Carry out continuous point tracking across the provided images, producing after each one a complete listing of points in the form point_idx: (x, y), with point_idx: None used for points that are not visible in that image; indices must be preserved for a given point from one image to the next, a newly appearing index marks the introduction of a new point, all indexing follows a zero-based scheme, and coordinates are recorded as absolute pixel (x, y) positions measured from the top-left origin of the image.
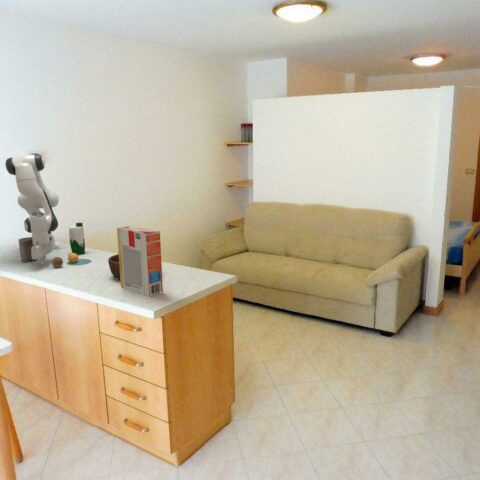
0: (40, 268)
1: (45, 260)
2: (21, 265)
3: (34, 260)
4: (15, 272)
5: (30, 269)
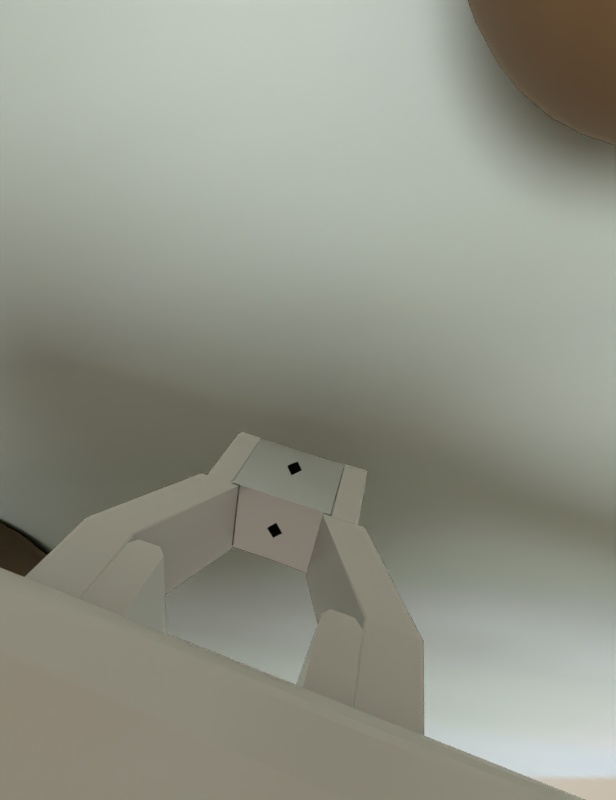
0: (531, 479)
1: (223, 461)
2: (227, 657)
3: (30, 553)
4: (613, 759)
5: (519, 616)
